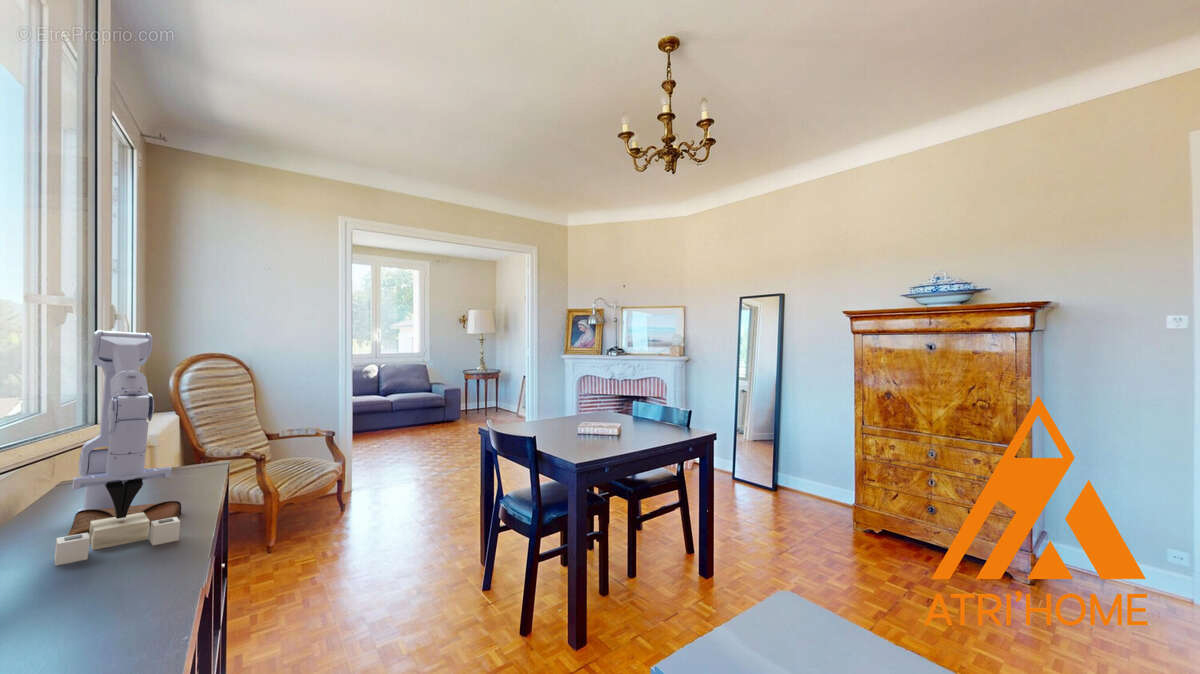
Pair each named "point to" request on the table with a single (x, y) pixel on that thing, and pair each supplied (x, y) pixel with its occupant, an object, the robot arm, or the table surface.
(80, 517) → the sunglasses case
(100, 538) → the plain birch block
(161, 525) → the cream block marked 2
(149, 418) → the robot arm
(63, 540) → the cream block marked 1
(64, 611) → the table surface
